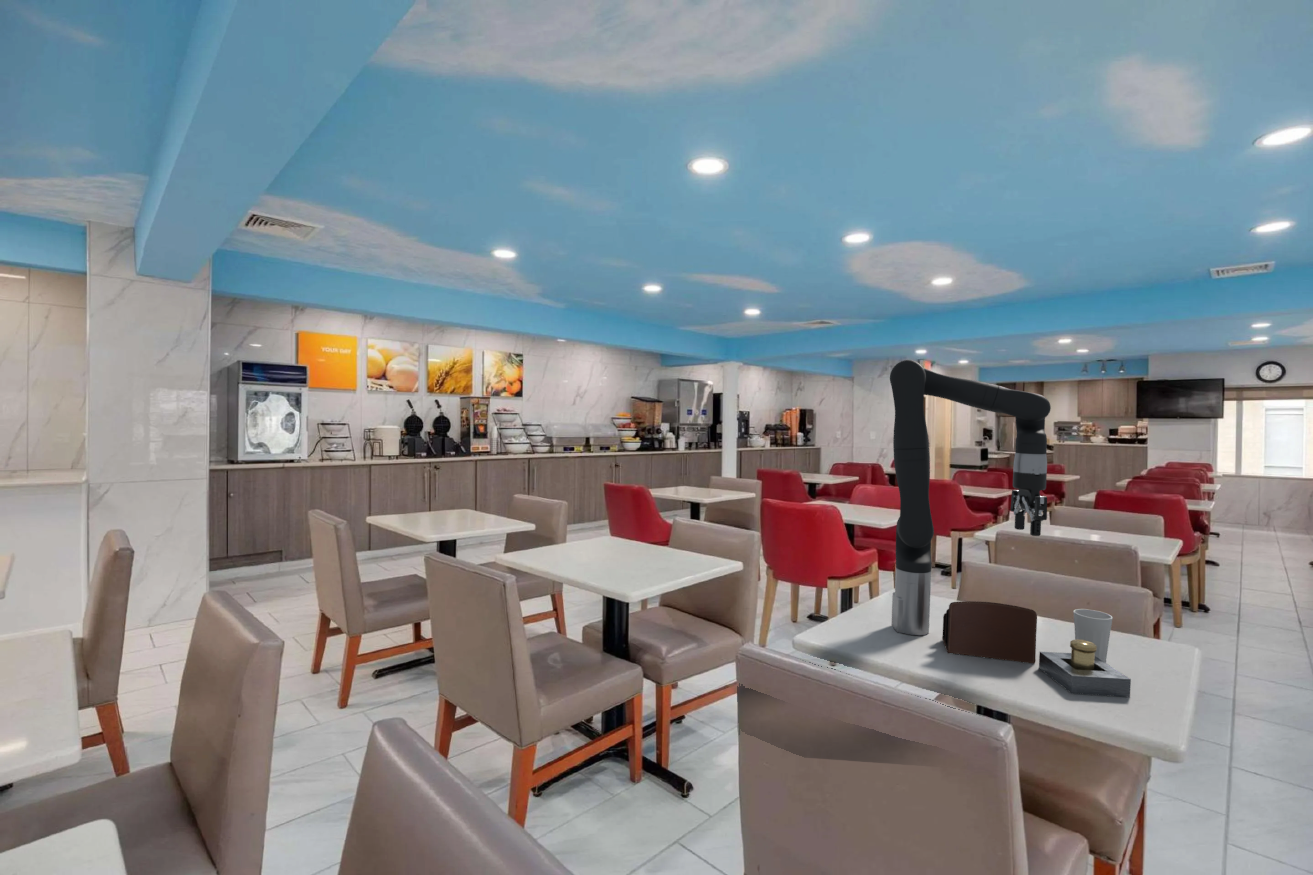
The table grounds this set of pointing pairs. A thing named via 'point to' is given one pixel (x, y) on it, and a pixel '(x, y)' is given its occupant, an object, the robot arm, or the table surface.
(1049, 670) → the grey hollow block
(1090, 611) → the cup
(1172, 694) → the table surface
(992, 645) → the letter holder
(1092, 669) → the fitting
